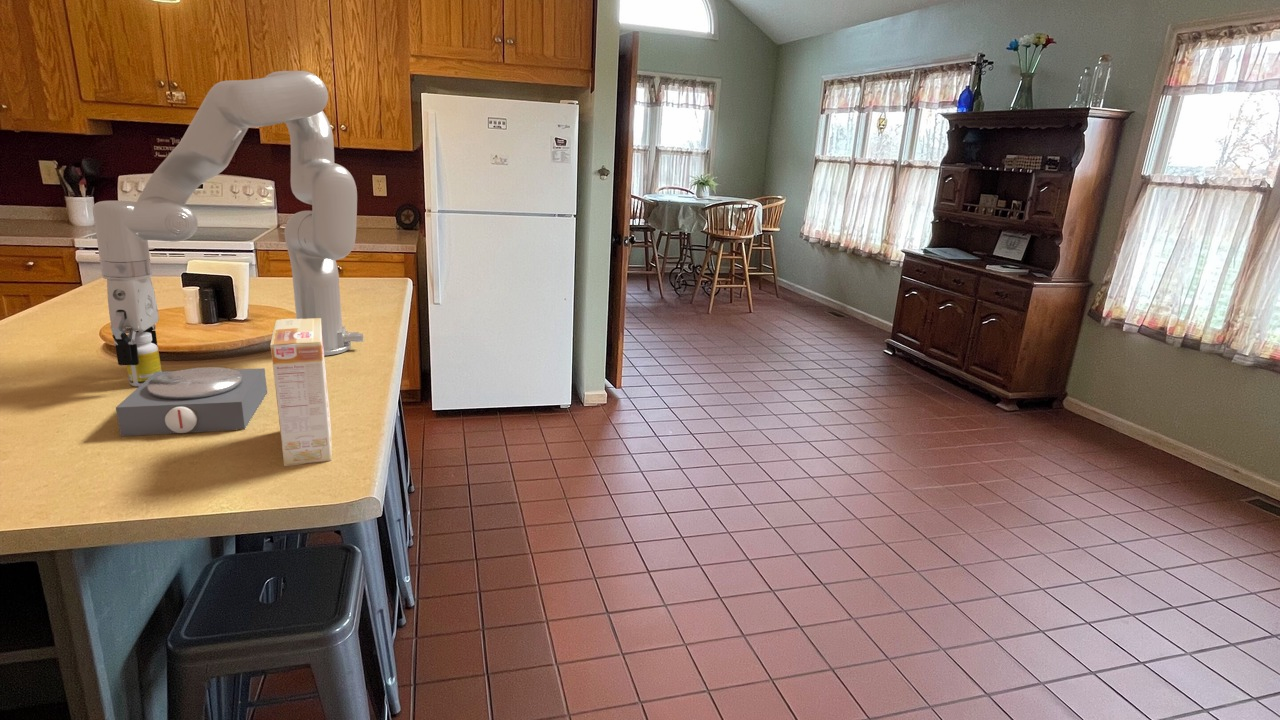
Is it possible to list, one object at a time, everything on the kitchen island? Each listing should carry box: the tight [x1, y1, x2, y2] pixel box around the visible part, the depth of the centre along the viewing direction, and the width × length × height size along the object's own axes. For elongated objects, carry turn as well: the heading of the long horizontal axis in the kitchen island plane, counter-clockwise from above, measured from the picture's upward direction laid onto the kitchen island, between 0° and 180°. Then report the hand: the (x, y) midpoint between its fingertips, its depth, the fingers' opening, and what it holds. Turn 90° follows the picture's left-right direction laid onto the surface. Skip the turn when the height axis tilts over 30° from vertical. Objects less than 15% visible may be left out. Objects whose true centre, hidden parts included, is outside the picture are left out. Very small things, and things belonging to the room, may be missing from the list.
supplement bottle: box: [125, 332, 163, 388], centre depth 135 cm, size 5×5×10 cm
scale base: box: [115, 368, 268, 437], centre depth 123 cm, size 18×19×5 cm
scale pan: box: [147, 366, 242, 399], centre depth 122 cm, size 14×14×1 cm
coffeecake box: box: [269, 318, 333, 467], centre depth 111 cm, size 15×7×20 cm, turn 23°
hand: (138, 357), depth 134 cm, fingers open, 9 cm apart
